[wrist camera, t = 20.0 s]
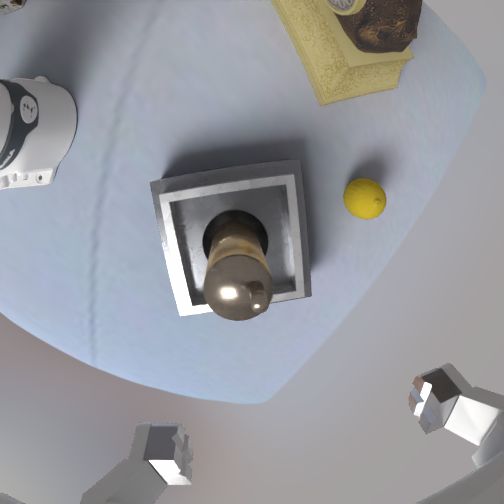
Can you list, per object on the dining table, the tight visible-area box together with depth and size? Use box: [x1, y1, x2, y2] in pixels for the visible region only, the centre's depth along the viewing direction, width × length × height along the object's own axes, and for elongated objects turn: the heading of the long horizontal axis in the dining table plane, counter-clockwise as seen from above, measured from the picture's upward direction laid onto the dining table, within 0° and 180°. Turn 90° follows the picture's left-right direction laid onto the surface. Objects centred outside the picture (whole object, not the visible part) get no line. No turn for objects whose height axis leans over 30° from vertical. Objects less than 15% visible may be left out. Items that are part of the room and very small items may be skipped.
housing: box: [150, 159, 312, 316], centre depth 37 cm, size 18×18×8 cm
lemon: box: [344, 178, 386, 219], centre depth 37 cm, size 6×6×8 cm
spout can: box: [203, 221, 274, 321], centre depth 28 cm, size 6×6×16 cm
